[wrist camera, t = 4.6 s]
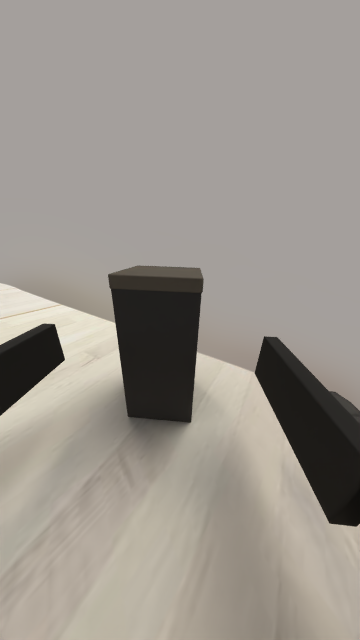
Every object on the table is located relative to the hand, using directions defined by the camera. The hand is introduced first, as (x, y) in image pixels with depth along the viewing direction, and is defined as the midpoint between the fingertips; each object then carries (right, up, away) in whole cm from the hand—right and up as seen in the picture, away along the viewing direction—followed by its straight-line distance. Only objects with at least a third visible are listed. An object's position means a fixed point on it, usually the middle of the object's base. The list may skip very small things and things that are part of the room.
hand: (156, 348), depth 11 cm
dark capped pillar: (0, -5, +5) cm, 7 cm away
